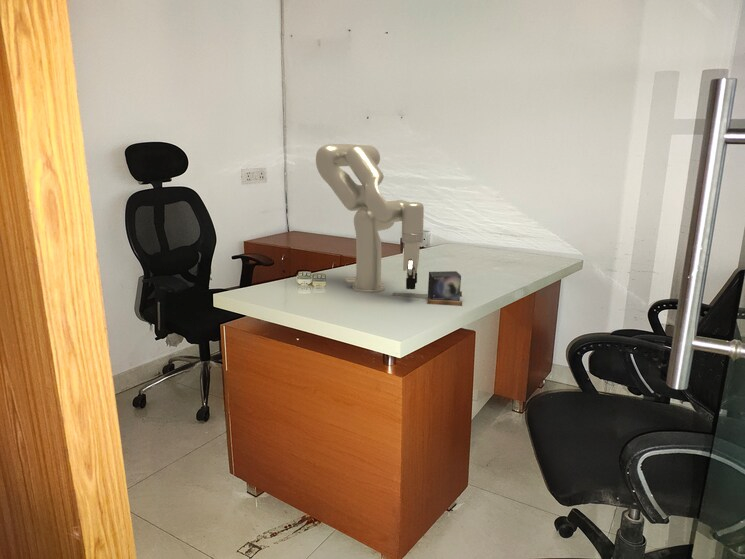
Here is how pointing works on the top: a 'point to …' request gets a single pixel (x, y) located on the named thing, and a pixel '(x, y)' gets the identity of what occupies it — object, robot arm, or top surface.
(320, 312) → the top surface
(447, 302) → the brown open frame
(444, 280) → the small box
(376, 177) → the robot arm
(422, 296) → the rubber mat
